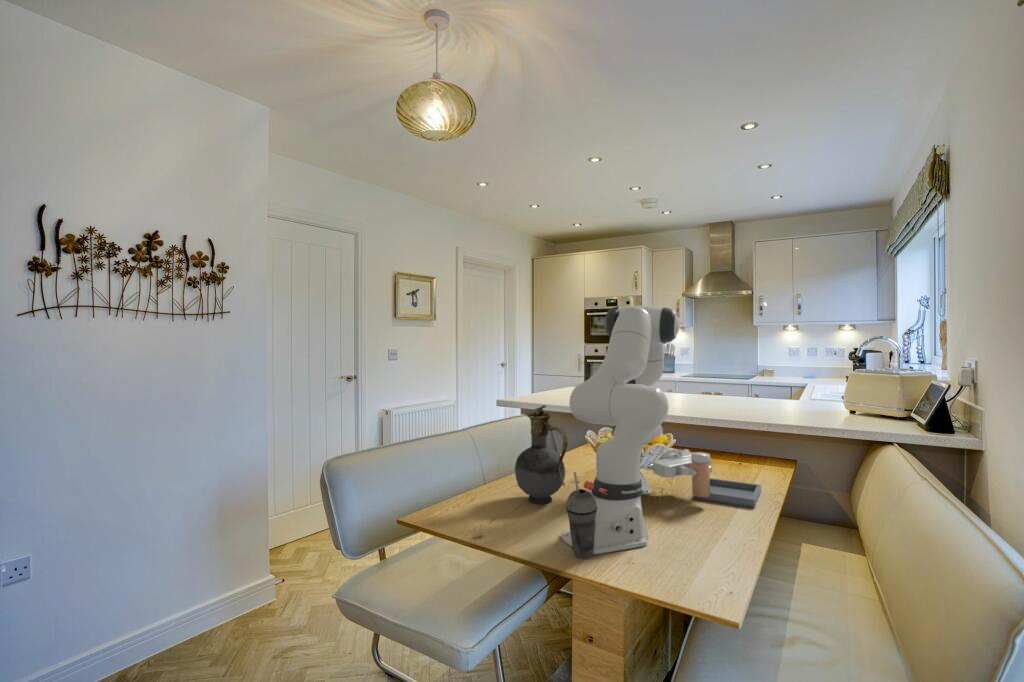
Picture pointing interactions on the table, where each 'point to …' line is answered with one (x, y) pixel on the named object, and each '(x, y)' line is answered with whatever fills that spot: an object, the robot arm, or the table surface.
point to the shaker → (701, 474)
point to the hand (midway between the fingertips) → (703, 471)
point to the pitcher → (541, 461)
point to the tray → (733, 492)
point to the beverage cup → (582, 521)
